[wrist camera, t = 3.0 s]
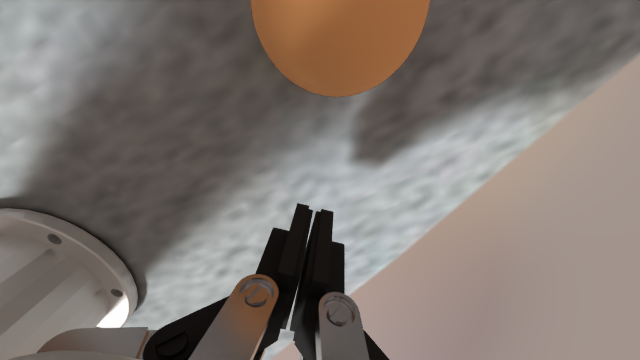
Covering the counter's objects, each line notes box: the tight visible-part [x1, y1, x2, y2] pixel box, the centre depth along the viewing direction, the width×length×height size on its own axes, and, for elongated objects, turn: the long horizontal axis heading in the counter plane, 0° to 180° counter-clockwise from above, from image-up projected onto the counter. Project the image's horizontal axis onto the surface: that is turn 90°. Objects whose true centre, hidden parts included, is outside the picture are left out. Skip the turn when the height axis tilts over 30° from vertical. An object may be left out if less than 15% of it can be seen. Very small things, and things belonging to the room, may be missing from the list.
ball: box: [250, 0, 430, 97], centre depth 9 cm, size 6×6×6 cm
